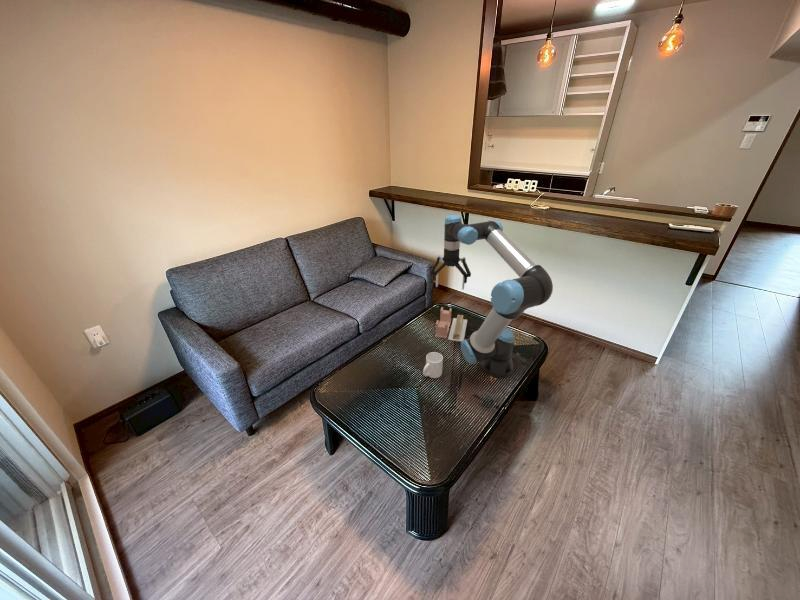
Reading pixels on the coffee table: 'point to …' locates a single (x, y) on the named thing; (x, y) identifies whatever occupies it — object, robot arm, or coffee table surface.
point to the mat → (460, 332)
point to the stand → (443, 323)
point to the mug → (433, 365)
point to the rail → (458, 327)
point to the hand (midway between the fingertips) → (449, 287)
